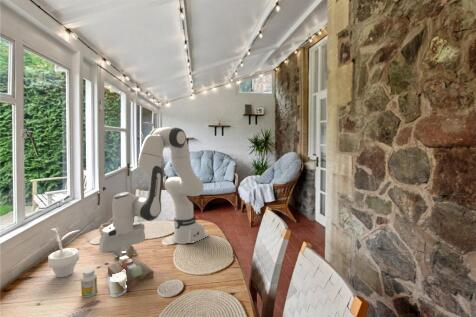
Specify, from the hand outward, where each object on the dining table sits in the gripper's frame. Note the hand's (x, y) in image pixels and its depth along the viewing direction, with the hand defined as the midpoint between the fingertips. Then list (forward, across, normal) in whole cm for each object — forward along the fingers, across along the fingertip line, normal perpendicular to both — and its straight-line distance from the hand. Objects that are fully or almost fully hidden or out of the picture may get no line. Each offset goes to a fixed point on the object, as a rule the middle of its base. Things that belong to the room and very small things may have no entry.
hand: (123, 255), depth 119 cm
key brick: (+4, 0, +4) cm, 6 cm away
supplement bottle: (+7, +17, +9) cm, 21 cm away
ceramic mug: (+7, -6, -13) cm, 16 cm away
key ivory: (+4, 0, 0) cm, 4 cm away
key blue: (+5, 0, +9) cm, 10 cm away
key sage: (+4, 0, +13) cm, 14 cm away
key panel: (+7, 0, +7) cm, 10 cm away
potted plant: (+7, +20, -15) cm, 26 cm away
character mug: (+7, -4, -32) cm, 33 cm away
